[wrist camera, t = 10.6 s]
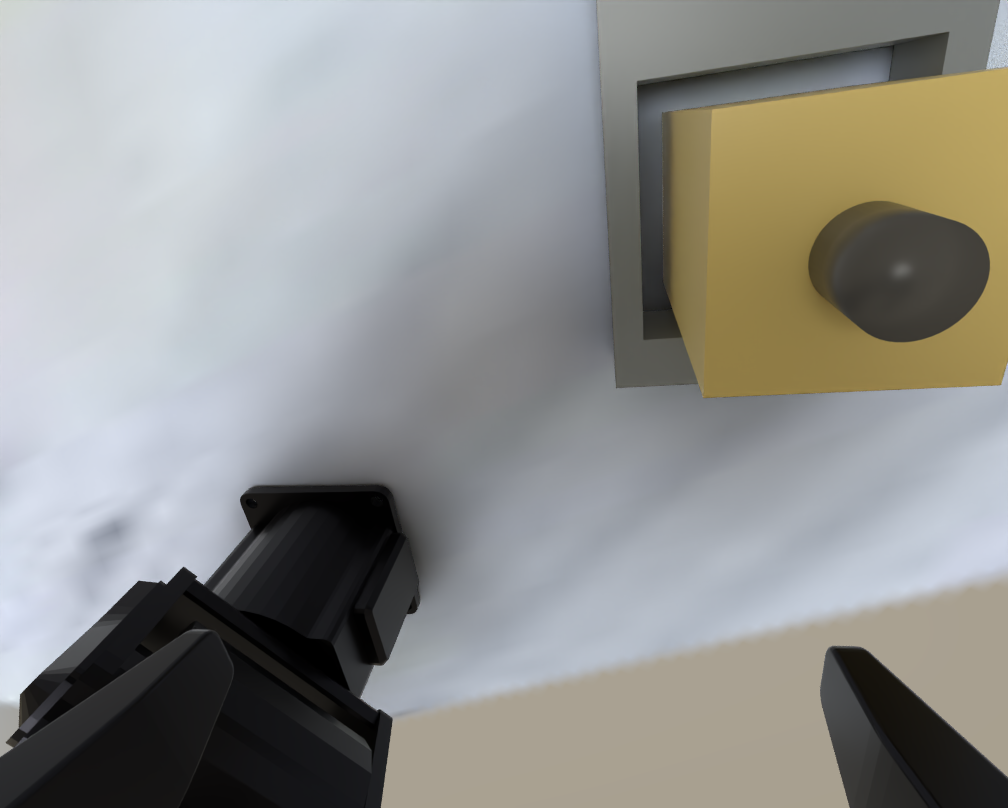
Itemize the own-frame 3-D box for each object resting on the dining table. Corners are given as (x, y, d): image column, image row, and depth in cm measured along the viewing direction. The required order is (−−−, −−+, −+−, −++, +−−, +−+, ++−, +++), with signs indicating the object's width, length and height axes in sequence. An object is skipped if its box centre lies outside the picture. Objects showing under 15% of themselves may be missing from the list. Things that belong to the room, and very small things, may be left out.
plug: (662, 281, 17) (719, 443, 9) (662, 112, 15) (734, 108, 7) (828, 268, 16) (1072, 434, 8) (851, 85, 14) (1212, 42, 6)
